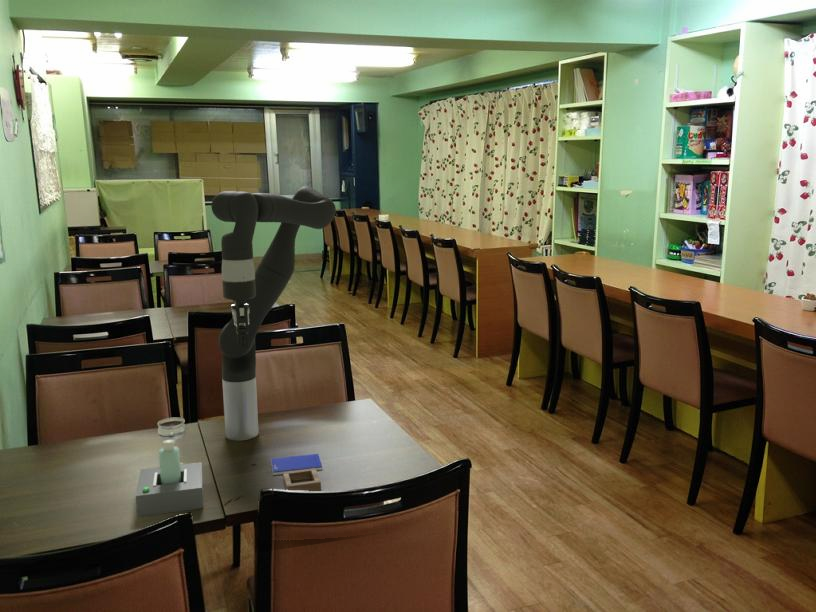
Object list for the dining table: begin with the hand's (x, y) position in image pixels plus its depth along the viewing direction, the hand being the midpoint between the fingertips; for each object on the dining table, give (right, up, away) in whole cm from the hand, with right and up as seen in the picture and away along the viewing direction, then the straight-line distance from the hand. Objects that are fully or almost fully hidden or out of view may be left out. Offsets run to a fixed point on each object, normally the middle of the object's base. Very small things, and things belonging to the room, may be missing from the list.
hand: (242, 344), depth 164 cm
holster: (+14, -34, +3) cm, 37 cm away
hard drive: (+11, -33, +14) cm, 37 cm away
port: (-16, -36, -4) cm, 39 cm away
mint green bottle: (-15, -36, -4) cm, 39 cm away
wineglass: (-21, -32, +13) cm, 41 cm away
